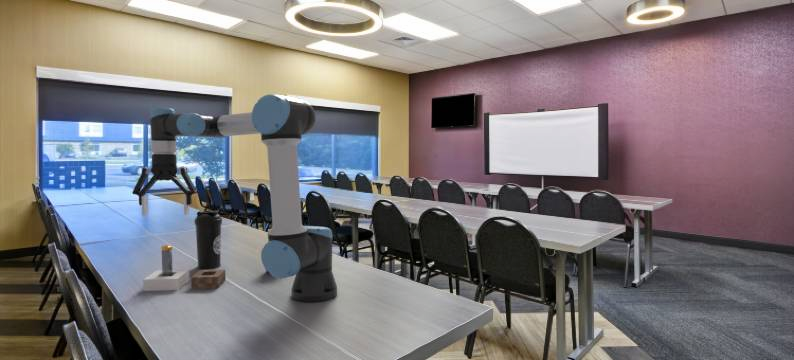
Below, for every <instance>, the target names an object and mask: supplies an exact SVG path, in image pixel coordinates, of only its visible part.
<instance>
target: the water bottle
mask: <svg viewBox="0 0 794 360" xmlns="http://www.w3.org/2000/svg"><path fill="white" fill-rule="evenodd" d="M219 212H220V210H210V211H205V210H199V211H197V212H196V217H195V219H194V225H195V236H196V254H197V268H198V269H199V270H213V269H217V268H219V267H221V261H222V260H221V255H222V252H221V250H222V248H221V247H222V224H223V218H222V217H221V215H220V214H218V213H219Z"/></svg>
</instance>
